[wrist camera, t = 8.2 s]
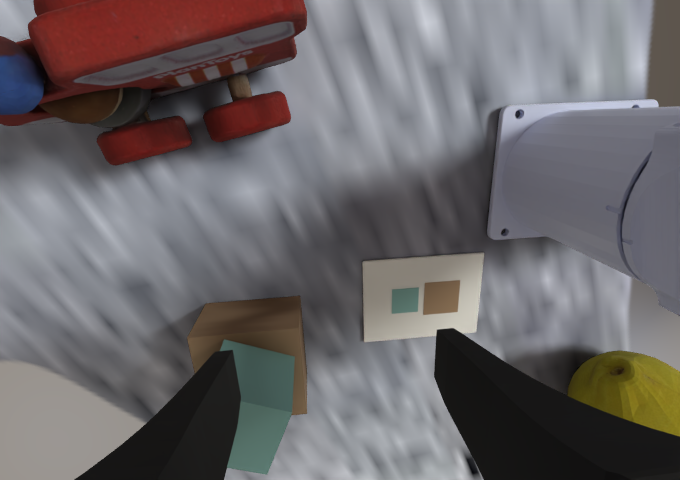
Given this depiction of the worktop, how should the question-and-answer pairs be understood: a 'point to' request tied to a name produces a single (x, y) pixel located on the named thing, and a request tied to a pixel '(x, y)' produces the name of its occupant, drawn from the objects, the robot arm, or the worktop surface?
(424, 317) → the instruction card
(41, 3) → the toy fire truck
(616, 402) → the lemon
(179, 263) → the worktop surface
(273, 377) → the teal block
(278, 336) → the walnut block
